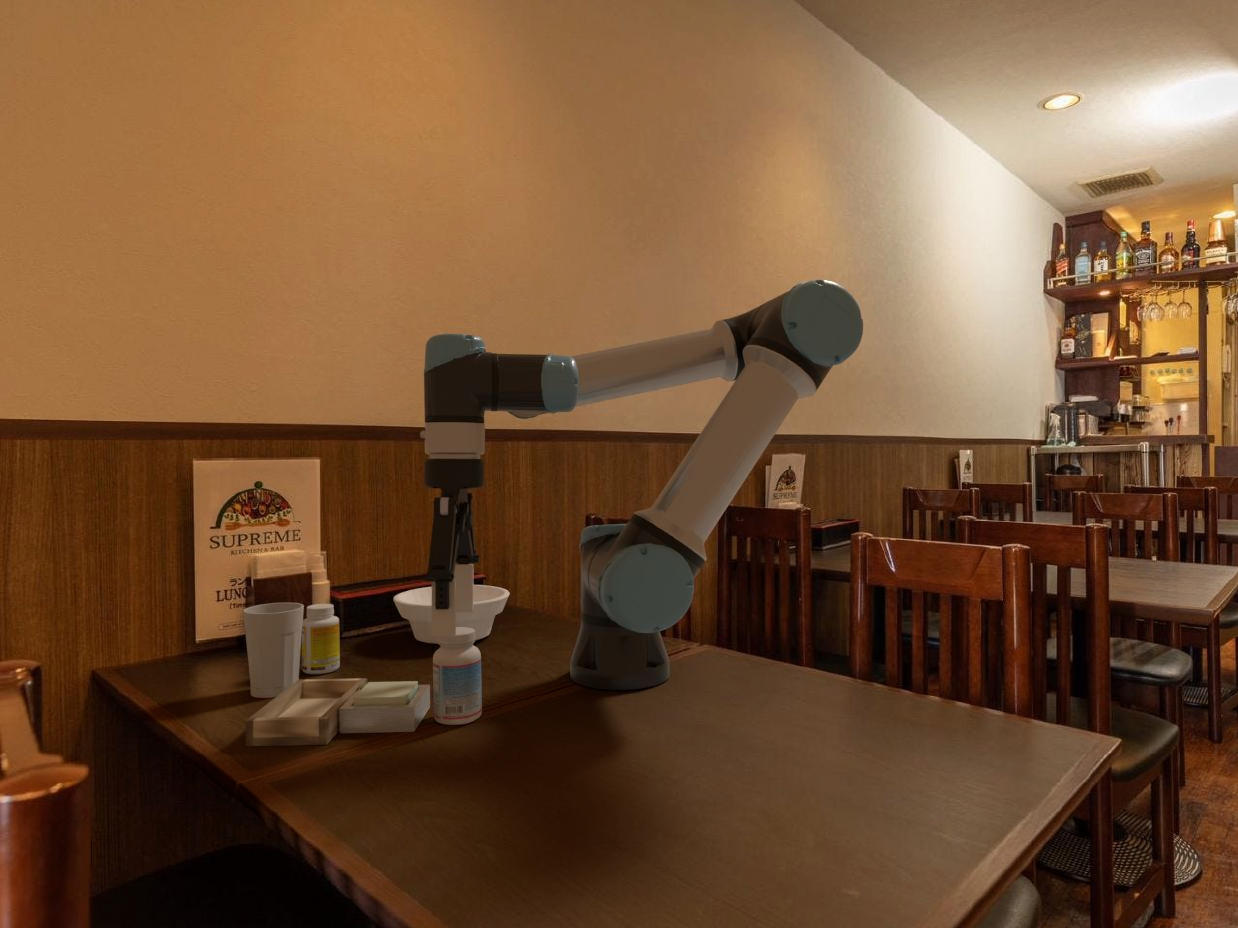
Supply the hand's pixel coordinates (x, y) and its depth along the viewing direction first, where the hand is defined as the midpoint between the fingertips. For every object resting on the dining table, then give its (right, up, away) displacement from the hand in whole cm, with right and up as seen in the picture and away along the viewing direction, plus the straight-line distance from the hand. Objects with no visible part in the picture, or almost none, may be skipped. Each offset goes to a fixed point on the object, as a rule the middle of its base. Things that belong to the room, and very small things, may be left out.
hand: (454, 623), depth 96 cm
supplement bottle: (-26, -12, +22) cm, 36 cm away
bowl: (-10, -12, +43) cm, 46 cm away
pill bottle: (0, -13, 0) cm, 13 cm away
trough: (-18, -12, -1) cm, 22 cm away
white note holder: (-9, -12, 0) cm, 15 cm away
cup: (-28, -13, +12) cm, 33 cm away
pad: (-9, -10, 0) cm, 13 cm away
